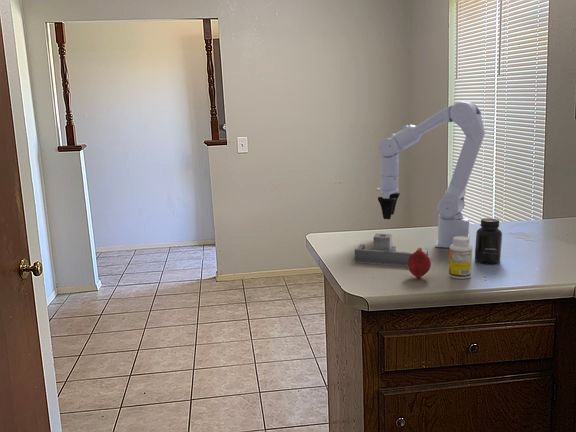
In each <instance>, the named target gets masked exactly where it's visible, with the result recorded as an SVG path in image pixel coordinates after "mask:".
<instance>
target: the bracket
mask: <svg viewBox="0 0 576 432" xmlns="http://www.w3.org/2000/svg"><path fill="white" fill-rule="evenodd" d="M365 245H366V244H364V243H363V244H362V243H361V244H360V245H358V247H357V248H355V249H354V261H353V263H354V262H355V264H366V265H367V264H368V265H369V264H370V265H382V266H383V265H384V266H396V267H397V266H398V267H408V265H407V264H408V259H409V257H410V256H411V255H412V254H413V253H414V252H411V251H397V246H396V245H395V246H394V245H392V247H391V248H390V250H377V249H366V248H365V247H366V246H365ZM422 252H424V253H425V254H427V256H428V257H429V247H424V248H422Z"/></svg>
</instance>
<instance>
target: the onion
mask: <svg viewBox="0 0 576 432" xmlns="http://www.w3.org/2000/svg"><path fill="white" fill-rule="evenodd" d="M431 264H432V263H431V258H430V257H429V255H428V256H427V254H425V253H424V252H423V247H418V248H417V249H416V251H415V252H413V254H412V255H411V256H410V257H409V259H408V264H407V265H408V266H407V269H408V271H409V272H410V273H411V274H412V276H414V277H416V278H417V279H421V278H423V276H425V275H426V274H427V273H428V272H429V271H430V269H431Z"/></svg>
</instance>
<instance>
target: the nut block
mask: <svg viewBox="0 0 576 432" xmlns="http://www.w3.org/2000/svg"><path fill="white" fill-rule="evenodd" d="M392 246H393V233H375V234H374V236H373V246H372V247H373V249H372V250H377V249H378V250H382V251H389V250H390V248H391V247H392Z"/></svg>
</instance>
